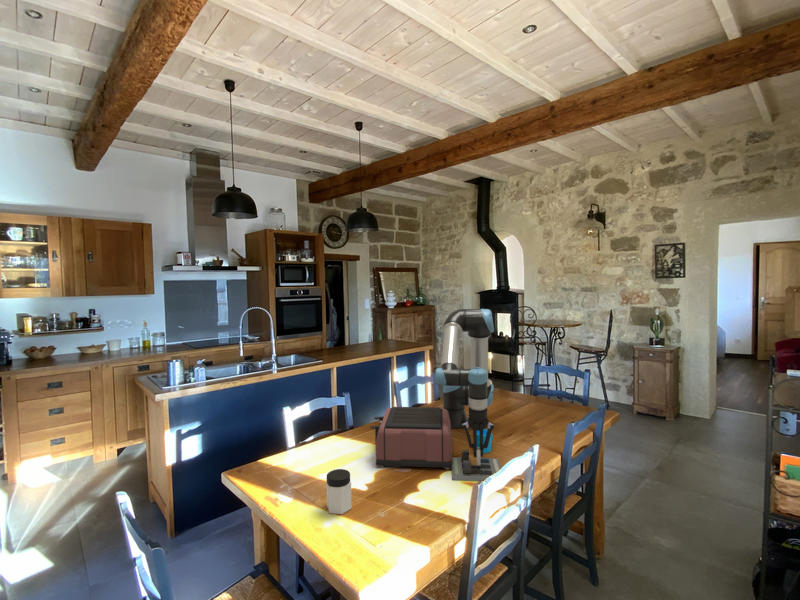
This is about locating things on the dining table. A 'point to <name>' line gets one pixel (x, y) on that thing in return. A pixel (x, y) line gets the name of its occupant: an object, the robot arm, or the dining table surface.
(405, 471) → the dining table surface
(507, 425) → the dining table surface
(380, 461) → the toaster
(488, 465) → the panel
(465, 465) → the breaker
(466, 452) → the breaker
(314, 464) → the dining table surface
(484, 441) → the mug
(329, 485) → the jar
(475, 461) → the breaker
